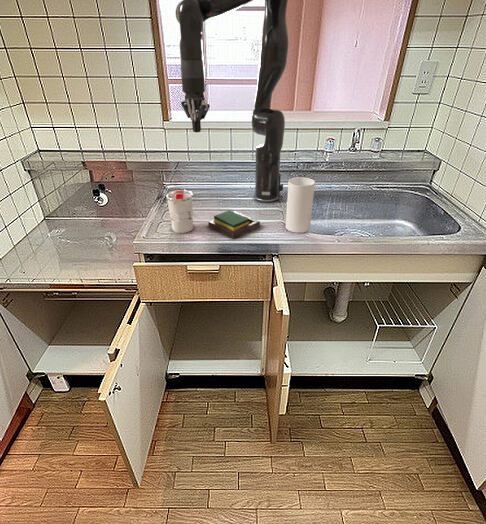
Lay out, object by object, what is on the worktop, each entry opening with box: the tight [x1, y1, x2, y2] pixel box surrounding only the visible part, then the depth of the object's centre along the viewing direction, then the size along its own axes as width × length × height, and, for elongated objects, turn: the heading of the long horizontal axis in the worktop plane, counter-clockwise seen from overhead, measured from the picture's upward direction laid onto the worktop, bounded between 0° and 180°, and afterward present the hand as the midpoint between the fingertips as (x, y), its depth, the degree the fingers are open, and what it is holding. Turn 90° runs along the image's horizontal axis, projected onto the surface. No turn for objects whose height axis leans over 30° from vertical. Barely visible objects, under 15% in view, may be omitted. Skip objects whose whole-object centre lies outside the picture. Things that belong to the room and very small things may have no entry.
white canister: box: [165, 189, 194, 234], centre depth 116 cm, size 10×8×12 cm
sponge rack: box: [207, 210, 261, 240], centre depth 120 cm, size 12×12×2 cm
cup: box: [284, 176, 316, 234], centre depth 115 cm, size 8×8×16 cm
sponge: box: [213, 210, 249, 231], centre depth 120 cm, size 7×10×3 cm
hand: (196, 131), depth 123 cm, fingers closed
